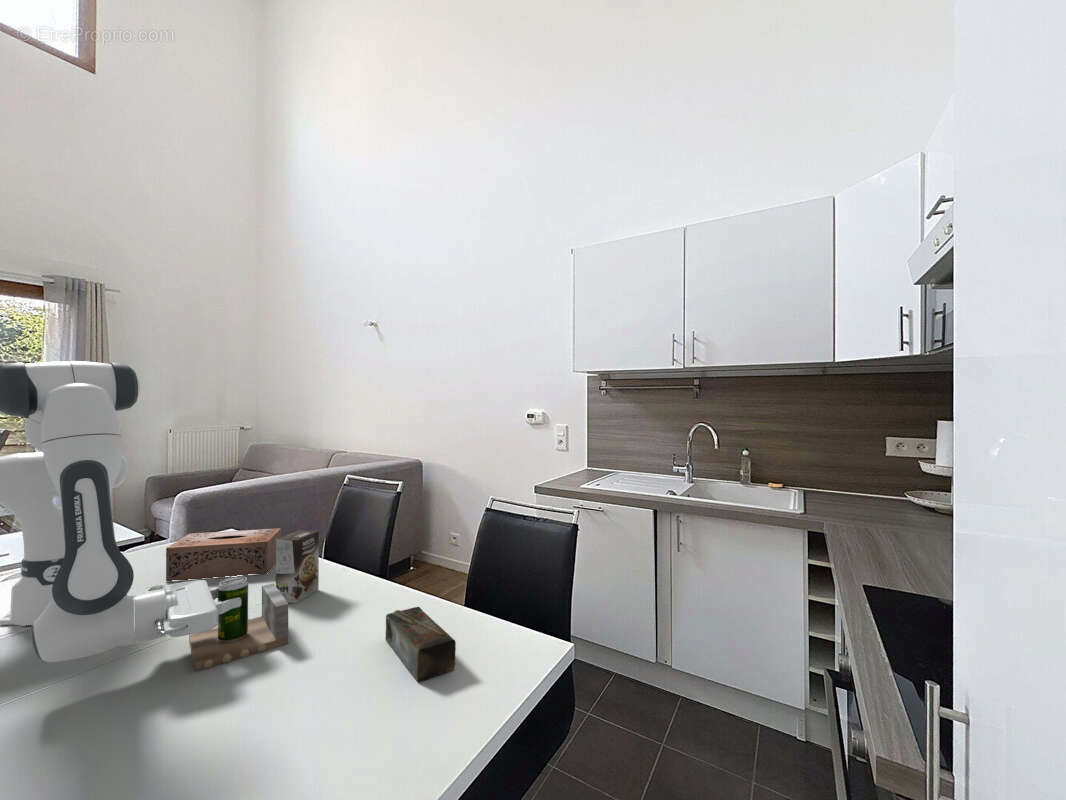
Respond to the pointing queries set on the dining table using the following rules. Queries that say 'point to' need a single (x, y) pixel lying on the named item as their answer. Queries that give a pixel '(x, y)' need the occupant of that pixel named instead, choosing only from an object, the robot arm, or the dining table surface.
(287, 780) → the dining table surface
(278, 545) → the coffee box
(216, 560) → the tissue box cover
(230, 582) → the green soda can
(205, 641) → the roller pallet
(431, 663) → the beverage carton
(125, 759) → the dining table surface
